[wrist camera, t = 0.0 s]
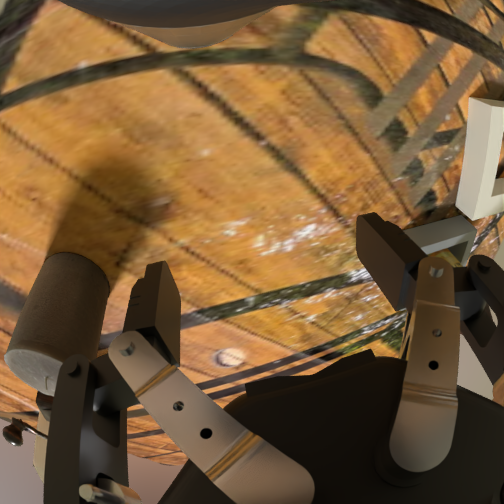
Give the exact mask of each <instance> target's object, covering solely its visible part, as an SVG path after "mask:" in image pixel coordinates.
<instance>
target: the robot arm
mask: <svg viewBox="0 0 504 504" xmlns="http://www.w3.org/2000/svg"><path fill="white" fill-rule="evenodd" d="M59 1H61V2H63V3H64V4H66V5H68V6H71V7H73V8H76V9H78V10H81V11H83V12H85V13H88V14H92V15H95V16H98V17H101V18H104V19H106V20H109V21H111V22H114V23H117V24H119V25H122V26H125V27H127V28H131V29H133V30H136V31H138V32H140V33H143V34H145V35H147V36H150V37H152V38H154V39H157V40H159V41H161V42H164V43H166V44H168V45H171V46H175V47H178V48H192V49H194V48H202V47H207V46H211V45H214V44H217V43H219V42H221V41H224V40H226V39H227V38H229V37H231V36H232V35H233V34H234V33H236V32H237V31H239V30H240V29H242V28H243V27H245V26H246V25H248V24H249V23H251V22H253V21H254V20H256V19H257V18H259V17H261V16H262V15H264V14H265V13H267V12H269V11H270V10H272V9H274V8H275V7H277V6H282V5H290V4H299V3H309V2H320V1H334V0H59ZM356 251H357V255H358V258H359V260H360V261H361V263H362V264H363V265H364V267H365V268H366V270H367V271H368V272H369V274H370V275H371V276H372V278H373V279H374V281H375V282H376V284H377V285H378V286H379V288H380V289H381V291H382V292H383V294H384V295H385V296H386V298H387V299H388V301H389V302H390V304H391V305H392V307H393V308H394V310H395V311H399V310H402V309H404V308H406V309H407V311H408V313H407V317H406V322H405V328H404V334H403V339H402V344H401V349H400V353H399V357H398V358H394V357H387V356H378V357H375V355H374V353H373V351H372V350H371V349H368V350H365V351H362V352H359V353H356V354H353V355H350V356H347V357H344V358H342V359H340V360H338V361H336V362H335V363H333V364H331V365H330V366H328V367H326V368H324V369H323V370H321V371H319V372H317V373H315V374H313V375H303V376H277V377H273V378H269V379H264V380H260V381H255V382H251V383H246V384H245V388H246V393H245V394H243V395H241V396H239V397H237V398H236V399H234V400H233V401H231V402H230V403H229V404H227V405H226V406H225V407H224V408H223V409H222V408H221V407H220V406H219V405H217V404H216V403H215V402H214V401H213V400H212V399H211V398H209V397H208V396H207V395H206V394H205V393H204V392H203V391H202V390H200V389H199V388H198V387H197V386H196V385H195V384H194V383H193V382H192V381H191V380H190V379H188V378H187V377H186V376H185V375H184V374H183V373H182V372H181V371H180V370H179V369H178V368H177V367H180V318H181V299H180V294H179V291H178V288H177V286H176V283H175V281H174V279H173V276H172V274H171V272H170V269H169V267H168V264H167V263H166V261H160V262H156V263H152V264H148V265H147V267H146V271H145V276H144V278H142V279H138V280H137V282H136V283H135V285H134V286H133V288H132V290H131V295H130V300H129V303H128V308H127V313H126V317H125V322H124V327H123V333H122V334H120V335H119V336H117V337H116V338H115V339H114V340H113V341H112V342H111V344H110V346H109V349H108V353H107V354H105V355H103V356H100V357H98V358H96V359H94V360H91V361H90V360H89V359H88V358H87V357H86V356H85V355H83V354H75V355H72V356H70V357H69V358H67V359H66V360H65V361H64V362H63V364H62V365H61V367H60V370H59V373H58V378H57V383H56V388H55V393H54V398H53V404H52V410H51V416H50V423H49V430H48V438H47V447H46V458H45V471H44V504H142V501H141V499H140V497H139V495H138V494H137V493H136V492H135V491H134V490H132V489H131V488H129V482H128V463H127V408H128V407H131V406H133V405H135V404H138V403H141V404H142V405H143V406H144V408H145V409H146V410H147V411H148V413H149V414H150V415H151V416H152V417H153V419H154V420H155V421H156V422H157V423H158V425H159V426H160V427H161V428H162V429H163V430H164V432H165V433H166V434H167V435H168V436H169V437H170V438H171V439H172V440H173V442H174V443H175V444H176V445H177V446H178V447H179V448H180V449H181V450H182V451H183V452H184V453H185V454H186V455H187V456H188V457H189V459H188V461H187V462H186V464H185V465H184V467H183V468H182V469H181V471H180V472H179V474H178V475H177V477H176V478H175V480H174V481H173V482H172V484H171V485H170V487H169V488H168V490H167V491H166V492H165V494H164V495H163V497H162V498H161V500H160V501H159V502H158V504H504V271H503V270H502V268H501V267H500V266H499V265H498V264H497V263H496V262H495V261H494V260H493V259H491V258H490V257H487V256H485V255H474V256H472V257H471V258H470V259H469V262H468V266H467V267H452V266H451V264H450V263H449V262H447V261H446V260H444V259H442V258H440V257H434V256H430V257H429V256H428V255H427V254H426V253H425V252H424V251H423V250H422V249H421V248H420V247H419V246H418V245H417V244H416V243H415V242H414V241H413V240H412V239H410V237H409V236H408V235H407V234H405V232H404V231H403V230H402V229H401V228H399V227H398V226H397V225H395V224H393V223H391V222H389V221H384V220H383V219H382V218H381V217H380V216H379V215H378V214H377V213H375V212H372V213H368V214H363V215H359V216H358V217H357V222H356ZM486 303H487V304H488V305H489V306H490V307H491V309H492V310H493V311H494V313H495V314H496V316H497V319H498V325H497V327H496V325H495V324H494V322H493V321H492V320H491V318H490V317H489V315H488V314H487V313H486V311H485V310H484V307H485V305H486ZM460 331H461V332H462V334H463V336H464V337H465V339H466V340H467V342H468V343H469V345H470V346H471V348H472V350H473V352H474V353H475V355H476V356H477V358H478V360H479V362H480V363H481V365H482V367H483V368H484V370H485V372H486V373H487V375H488V377H489V379H490V381H491V383H492V385H493V397H494V398H493V400H490V399H488V398H485V397H483V396H481V395H479V394H476V393H474V392H472V391H470V390H468V389H465V388H463V387H461V386H459V385H457V377H458V365H459V346H460Z"/></svg>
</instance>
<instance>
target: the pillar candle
mask: <svg viewBox="0 0 504 504" xmlns="http://www.w3.org/2000/svg"><path fill="white" fill-rule="evenodd" d="M109 293H110V286H109V282H108V280H107V278H106V275H105V274H104V272H103V271H102V270H101V269H100V268H99V267H98V266H97V265H96V264H94V263H93V262H92V261H90V260H88V259H87V258H85V257H83V256H80V255H77V254H73V253H65V252H64V253H57V254H55V255H52V256H51V257H49V258H48V259H47V260H46V261H45V262H44V264H43V266H42V268H41V270H40V272H39V274H38V276H37V278H36V280H35V282H34V284H33V287H32V289H31V291H30V293H29V295H28V298H27V300H26V302H25V305H24V307H23V309H22V312H21V314H20V317H19V319H18V322H17V324H16V327H15V329H14V332H13V335H12V338H11V341H10V343H9V346H8V349H7V352H6V354H5V355H4V357H5V358H4V359H5V362H6V364H7V365H8V366H9V368H10V370H11V371H12V372H13V373H14V374H15V375H16V376H17V377H18V378H19V379H21V380H22V381H23V382H25V383H26V384H28V385H29V386H31V387H33V388H35V389H36V390H38V391H40V392H42V393H43V394H46V395H52V396H54V393H55V388H56V383H57V378H58V373H59V370H60V367H61V365H62V364H63V362H64V361H65V360H66V359H67V358H69V357H70V356H72V355H75V354H83V355H85V356H86V357H87V358H88V359H89V360H90V361H91V360H94V359H96V357H97V351H98V345H99V340H100V336H101V330H102V325H103V320H104V314H105V310H106V305H107V299H108V297H109Z"/></svg>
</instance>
